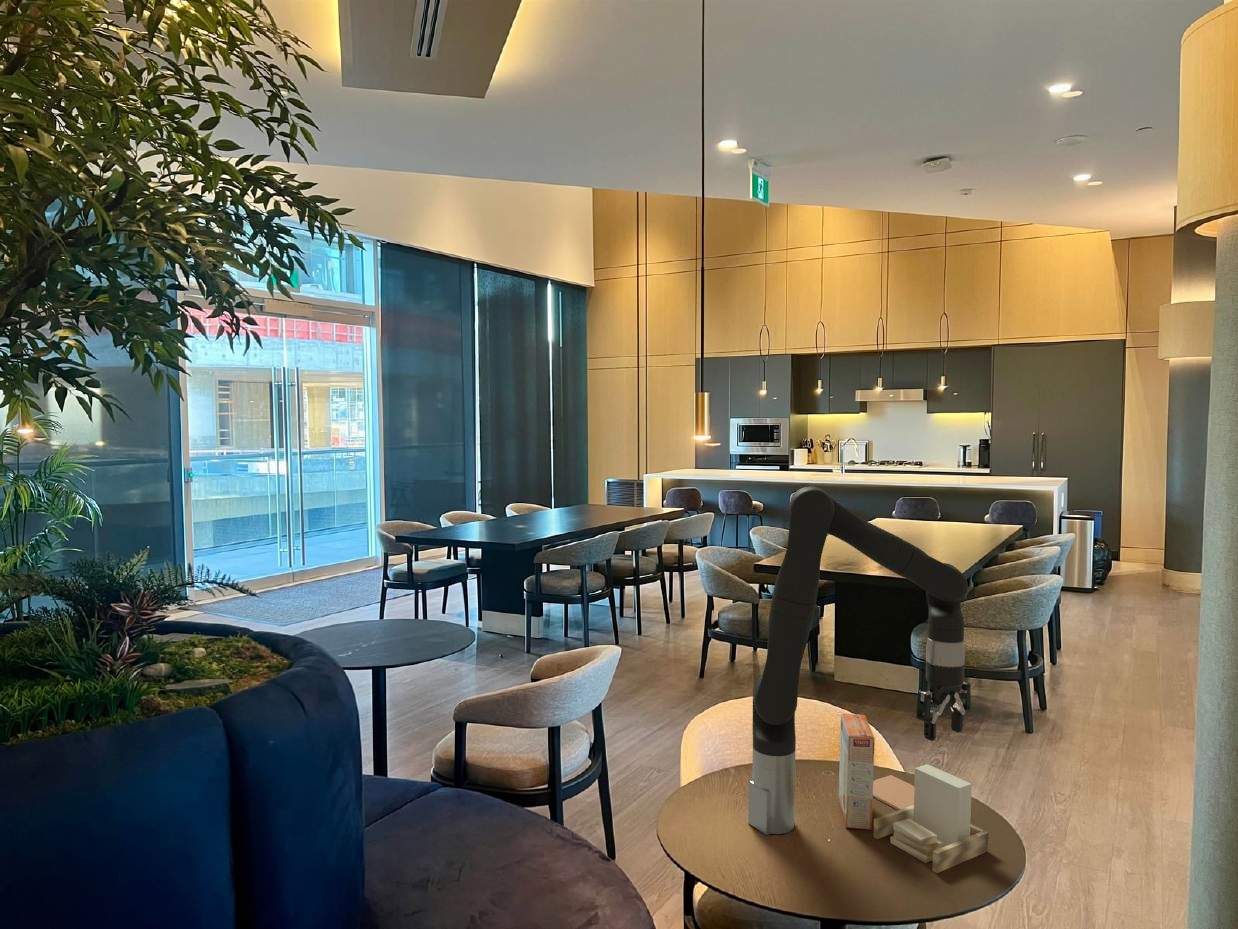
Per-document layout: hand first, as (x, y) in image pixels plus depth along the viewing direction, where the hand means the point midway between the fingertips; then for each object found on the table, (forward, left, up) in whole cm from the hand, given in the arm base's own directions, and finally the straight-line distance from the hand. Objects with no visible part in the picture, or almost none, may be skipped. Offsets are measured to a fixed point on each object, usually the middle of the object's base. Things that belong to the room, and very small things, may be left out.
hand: (943, 735), depth 171 cm
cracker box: (-8, +17, -23) cm, 29 cm away
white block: (0, 0, -23) cm, 23 cm away
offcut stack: (-8, 0, -23) cm, 24 cm away
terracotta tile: (+8, +18, -23) cm, 30 cm away
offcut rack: (-4, 0, -23) cm, 23 cm away
